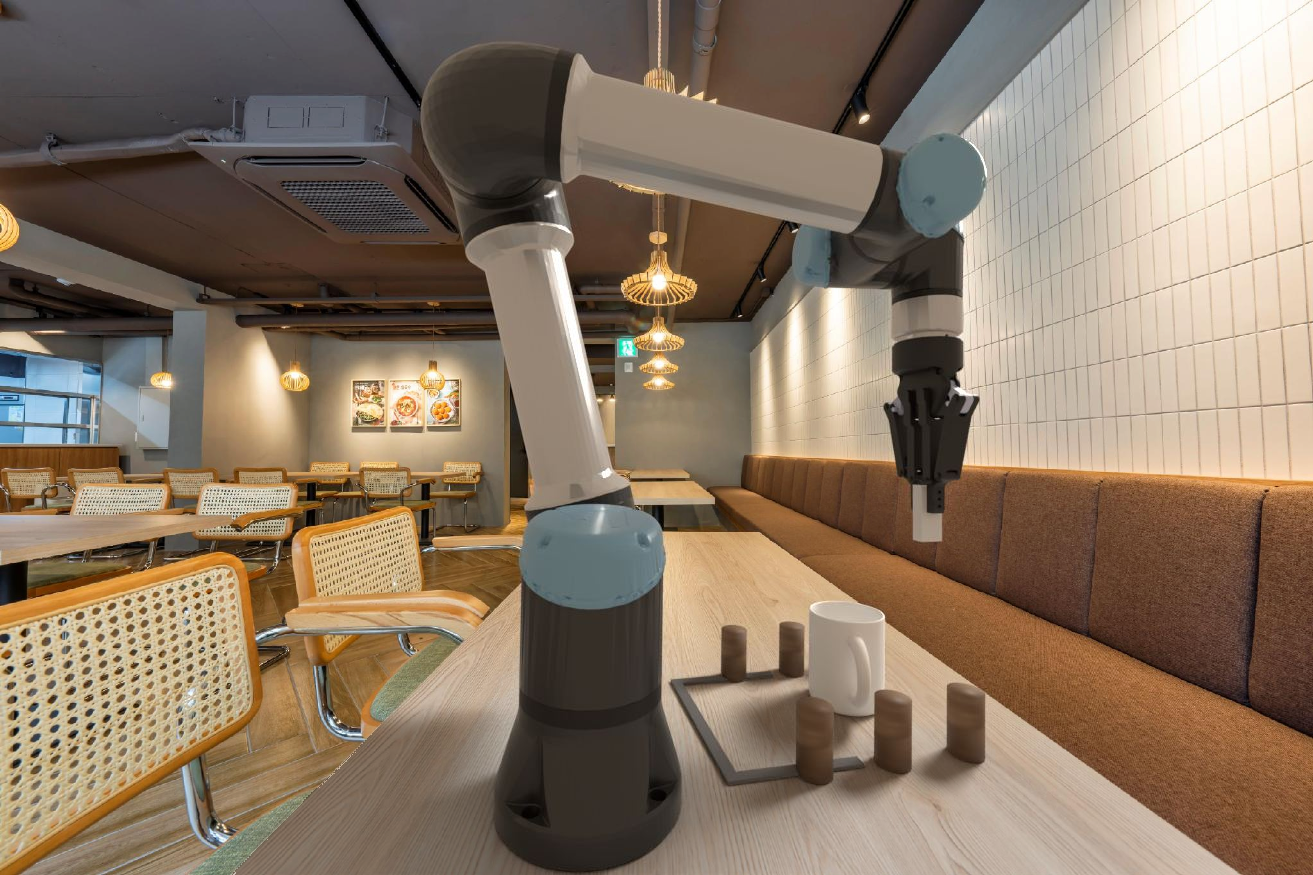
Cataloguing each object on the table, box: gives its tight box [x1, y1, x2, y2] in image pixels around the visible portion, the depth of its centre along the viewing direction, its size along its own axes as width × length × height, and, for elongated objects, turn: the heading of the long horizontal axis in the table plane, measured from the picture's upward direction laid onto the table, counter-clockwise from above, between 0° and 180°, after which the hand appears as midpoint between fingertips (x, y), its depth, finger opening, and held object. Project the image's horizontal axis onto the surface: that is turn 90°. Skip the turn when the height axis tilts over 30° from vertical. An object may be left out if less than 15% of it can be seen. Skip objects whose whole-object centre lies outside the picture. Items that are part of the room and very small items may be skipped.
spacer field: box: [720, 620, 986, 786], centre depth 58 cm, size 19×23×6 cm
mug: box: [808, 600, 886, 718], centre depth 59 cm, size 12×8×10 cm
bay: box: [670, 670, 866, 786], centre depth 56 cm, size 13×20×1 cm, turn 13°
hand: (927, 540), depth 61 cm, fingers closed
